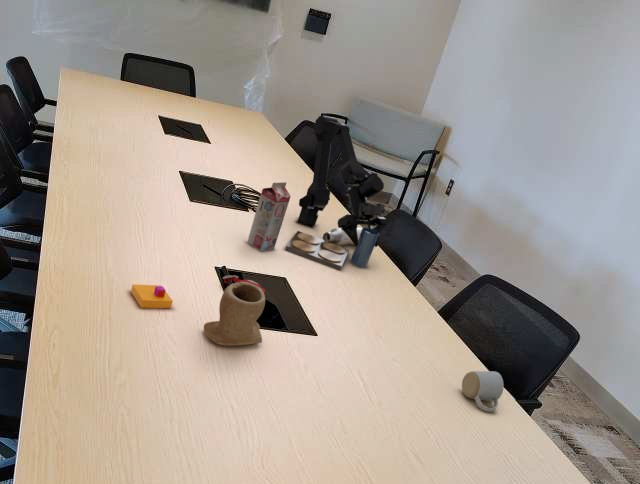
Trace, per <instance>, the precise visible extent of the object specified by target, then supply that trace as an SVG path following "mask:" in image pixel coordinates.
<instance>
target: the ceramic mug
mask: <svg viewBox="0 0 640 484" xmlns="http://www.w3.org/2000/svg"><path fill="white" fill-rule="evenodd" d="M504 385H505V384H504V379H503V377H502V375H501V374H500V372H498V371H495V370H493V371H491V370H490V371H489V370H474V371H469V372H467V373H466V374H465V375H464V376H463V378H462V381H461V390H462V393H463V395H464V396H465V397H466V398H469V399H471V400H475V403H476V405H477V407H478V408H479V409H481V410H482V411H484V412H489V413H490V412H491V413H492V412H493V411H494V410H496V409H497V407H498V406H499V399H500V398H501V397H502V395H503V393H504V387H505V386H504ZM482 401H487V402H493V407H488V406H486V405H484V404H483V402H482Z"/></svg>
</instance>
